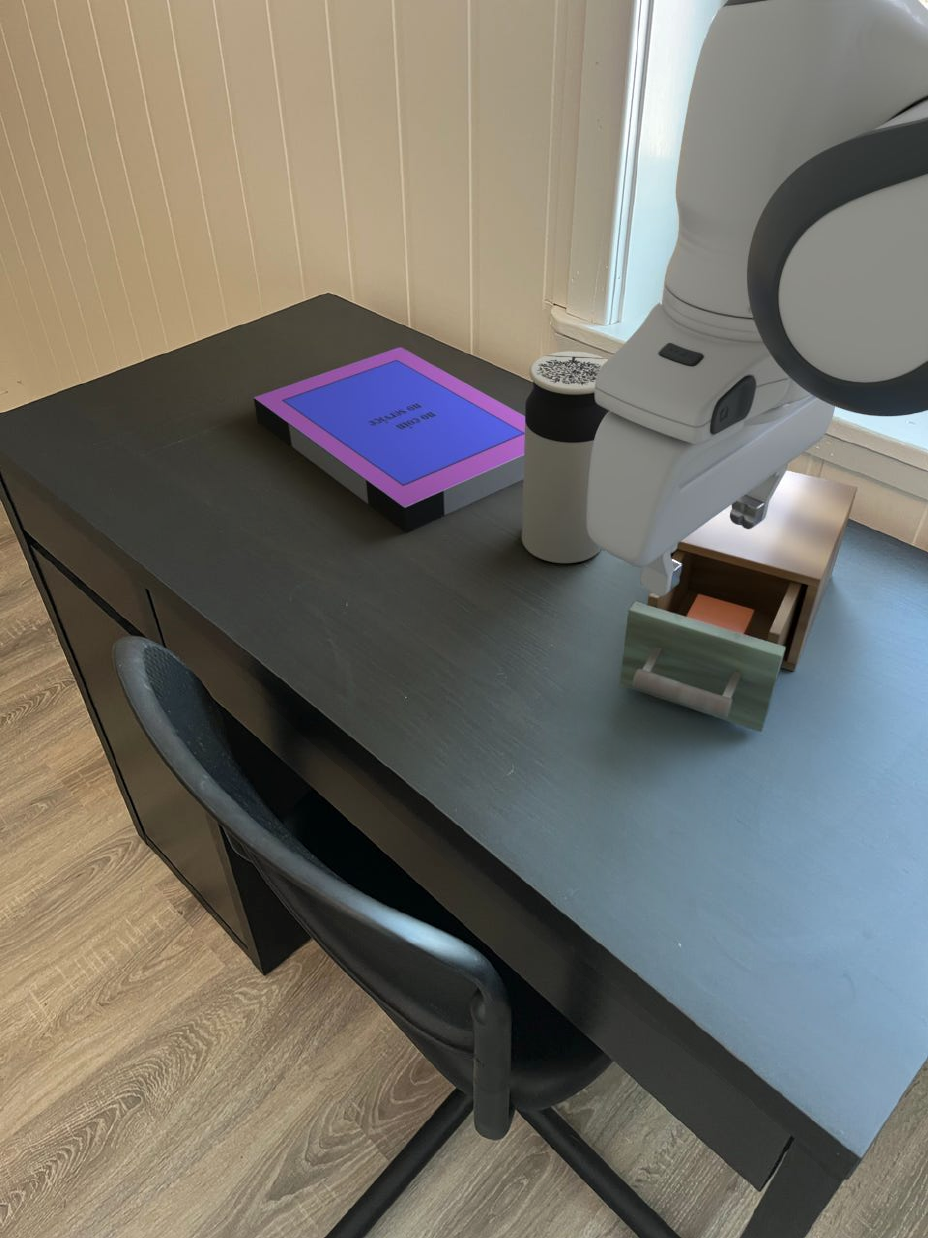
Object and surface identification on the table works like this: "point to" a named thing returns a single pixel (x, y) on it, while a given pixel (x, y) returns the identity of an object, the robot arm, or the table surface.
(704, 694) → the drawer
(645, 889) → the table surface
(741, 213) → the robot arm
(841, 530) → the cabinet
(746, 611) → the block
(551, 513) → the travel mug
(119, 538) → the table surface
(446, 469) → the book
